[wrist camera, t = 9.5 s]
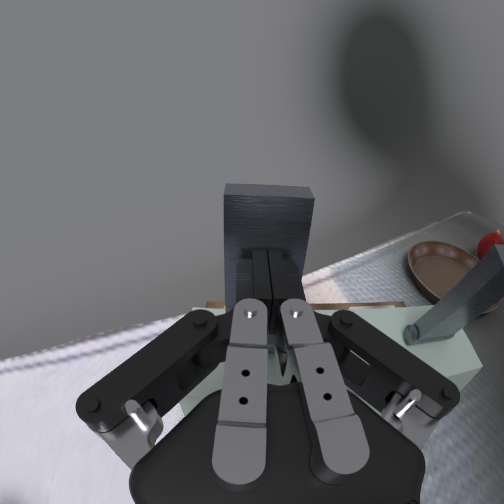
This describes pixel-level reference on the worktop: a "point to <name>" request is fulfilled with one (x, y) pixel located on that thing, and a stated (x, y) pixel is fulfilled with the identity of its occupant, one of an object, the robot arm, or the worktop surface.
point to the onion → (489, 243)
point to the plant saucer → (440, 268)
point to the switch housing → (390, 323)
